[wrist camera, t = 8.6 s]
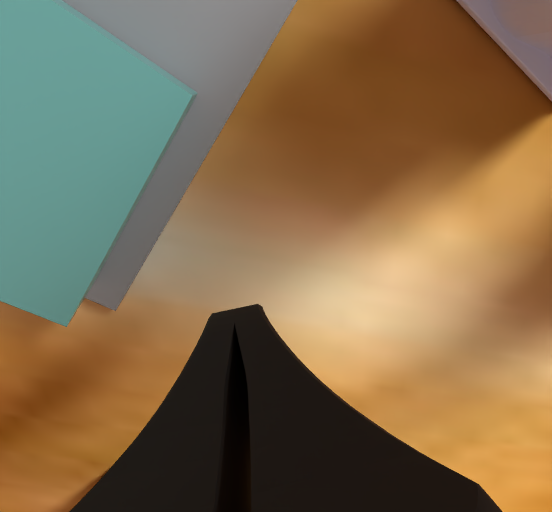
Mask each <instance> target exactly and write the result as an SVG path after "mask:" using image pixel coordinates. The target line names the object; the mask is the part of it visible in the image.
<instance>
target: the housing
mask: <svg viewBox="0 0 552 512" xmlns="http://www.w3.org/2000/svg"><path fill="white" fill-rule="evenodd" d="M197 94H198V93H197V92H196V91H194V90H193V89H191V88H190V87H188V86H187V85H185V84H184V83H182V82H181V81H179V80H178V79H176V78H175V77H174V76H172V75H171V74H169V73H168V72H166V71H165V70H163V69H162V68H160V67H159V66H157V65H156V64H155V63H153V62H152V61H150V60H149V59H147V58H146V57H144V56H143V55H141V54H140V53H138V52H137V51H135V50H134V49H133V48H131V47H130V46H128V45H127V44H125V43H124V42H122V41H121V40H119V39H118V38H116V37H115V36H114V35H112V34H111V33H109V32H108V31H106V30H105V29H103V28H102V27H100V26H99V25H97V24H96V23H94V22H93V21H92V20H90V19H89V18H87V17H86V16H84V15H83V14H81V13H80V12H78V11H77V10H75V9H74V8H73V7H71V6H70V5H68V4H67V3H65V2H64V1H62V0H0V301H2V302H4V303H7V304H9V305H12V306H14V307H17V308H20V309H22V310H25V311H27V312H30V313H32V314H35V315H38V316H40V317H43V318H45V319H48V320H50V321H53V322H55V323H58V324H61V325H63V326H66V327H67V325H68V324H69V322H70V321H71V319H72V317H73V316H74V314H75V313H76V311H77V309H78V308H79V306H80V305H81V303H82V301H83V300H84V298H85V297H86V295H87V293H88V292H89V290H90V289H91V287H92V285H93V284H94V282H95V280H96V278H97V276H98V275H99V273H100V271H101V269H102V267H103V266H104V264H105V262H106V260H107V258H108V256H109V255H110V253H111V251H112V249H113V247H114V245H115V244H116V242H117V240H118V238H119V236H120V235H121V233H122V231H123V229H124V227H125V225H126V224H127V222H128V220H129V218H130V216H131V214H132V213H133V211H134V209H135V207H136V205H137V203H138V202H139V200H140V198H141V196H142V194H143V193H144V191H145V189H146V187H147V185H148V183H149V182H150V180H151V178H152V176H153V174H154V172H155V171H156V169H157V167H158V165H159V163H160V162H161V160H162V158H163V156H164V154H165V152H166V151H167V149H168V147H169V145H170V143H171V141H172V140H173V138H174V136H175V134H176V132H177V130H178V129H179V127H180V125H181V123H182V121H183V120H184V118H185V116H186V114H187V112H188V110H189V109H190V107H191V105H192V103H193V101H194V99H195V98H196V96H197Z"/></svg>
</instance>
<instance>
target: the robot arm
mask: <svg viewBox="0 0 552 512" xmlns="http://www.w3.org/2000/svg"><path fill="white" fill-rule="evenodd" d="M456 1H457V2H458V3H459V4H460V5H461V6H462V7H463V8H464V9H465V10H466V11H467V12H468V13H469V14H470V16H471V17H472V18H473V19H474V20H475V21H476V22H477V23H478V24H479V25H480V26H481V27H482V28H483V29H484V30H485V31H486V32H487V33H488V35H489V36H490V37H491V38H492V39H493V40H494V41H495V42H496V43H497V44H498V45H499V46H500V47H501V48H502V49H503V50H504V51H505V53H506V54H507V55H508V56H509V57H510V58H511V59H512V60H513V61H514V62H515V63H516V64H517V65H518V66H519V67H520V68H521V69H522V71H523V72H524V73H525V74H526V75H527V76H528V77H529V78H530V79H531V80H532V81H533V82H534V83H535V84H536V85H537V86H538V87H539V89H540V90H541V91H542V92H543V93H544V94H545V95H546V96H547V97H548V98H549V99H550V100H551V101H552V0H456ZM70 512H502V511H501V509H500V508H499V507H498V506H497V505H496V503H495V502H494V501H493V500H492V499H491V498H490V496H489V495H488V494H487V493H486V492H485V491H484V490H483V488H482V487H481V486H480V485H479V484H477V483H476V482H474V481H472V480H470V479H468V478H466V477H464V476H462V475H461V474H459V473H457V472H455V471H453V470H451V469H449V468H447V467H445V466H444V465H442V464H440V463H438V462H436V461H434V460H433V459H431V458H429V457H427V456H426V455H424V454H422V453H420V452H419V451H417V450H415V449H414V448H412V447H411V446H409V445H407V444H406V443H404V442H402V441H401V440H399V439H398V438H396V437H394V436H393V435H391V434H390V433H388V432H387V431H385V430H384V429H382V428H381V427H380V426H378V425H377V424H375V423H374V422H372V421H371V420H370V419H368V418H367V417H365V416H364V415H362V414H361V413H360V412H358V411H357V410H355V409H354V408H353V407H351V406H350V405H349V404H348V403H346V402H345V401H344V400H343V399H341V398H340V397H339V396H338V395H336V394H335V393H334V392H333V391H332V390H331V389H329V388H328V387H327V386H326V385H325V384H324V383H323V382H321V381H320V380H319V379H318V378H317V377H316V376H315V375H314V374H313V373H312V372H311V371H310V370H309V369H308V368H307V367H306V366H305V365H304V364H303V363H302V362H301V361H300V360H299V359H298V358H297V356H296V355H295V354H294V353H293V352H292V351H291V350H290V348H289V347H288V346H287V345H286V343H285V342H284V341H283V340H282V339H281V337H280V336H279V335H278V333H277V332H276V331H275V329H274V328H273V326H272V325H271V323H270V322H269V320H268V318H267V316H266V315H265V312H264V310H263V307H262V306H260V305H259V304H255V305H250V306H246V307H241V308H236V309H231V310H226V311H222V312H217V313H212V315H211V316H210V317H209V319H208V321H207V324H206V326H205V328H204V330H203V333H202V335H201V337H200V339H199V341H198V343H197V345H196V347H195V349H194V350H193V352H192V354H191V356H190V358H189V360H188V361H187V363H186V365H185V367H184V369H183V370H182V372H181V374H180V375H179V377H178V379H177V380H176V382H175V383H174V385H173V387H172V388H171V390H170V391H169V393H168V395H167V396H166V398H165V399H164V401H163V402H162V404H161V405H160V407H159V408H158V410H157V411H156V412H155V414H154V415H153V417H152V418H151V419H150V421H149V422H148V423H147V425H146V426H145V427H144V429H143V430H142V431H141V433H140V434H139V435H138V436H137V438H136V439H135V440H134V441H133V443H132V444H131V445H130V446H129V447H128V449H127V450H126V451H125V452H124V453H123V454H122V455H121V457H120V458H119V459H118V460H117V461H116V462H115V464H114V465H113V466H112V467H111V468H110V469H109V470H108V472H107V473H106V474H105V475H104V476H103V477H102V478H101V480H100V481H99V482H98V483H97V484H96V485H95V486H94V487H93V488H92V489H91V490H90V491H89V492H88V493H87V494H86V495H85V496H84V497H83V498H82V499H81V501H80V502H79V503H78V504H77V505H76V506H75V507H74V508H73V509H72V510H71V511H70Z"/></svg>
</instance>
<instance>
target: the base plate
mask: <svg viewBox="0 0 552 512" xmlns="http://www.w3.org/2000/svg"><path fill="white" fill-rule="evenodd" d="M62 1H64V2H65V3H67V4H68V5H70V6H71V7H73V8H74V9H75V10H77V11H78V12H80V13H81V14H83V15H84V16H86V17H87V18H89V19H90V20H92V21H93V22H94V23H96V24H97V25H99V26H100V27H102V28H103V29H105V30H106V31H108V32H109V33H111V34H112V35H114V36H115V37H116V38H118V39H119V40H121V41H122V42H124V43H125V44H127V45H128V46H130V47H131V48H133V49H134V50H135V51H137V52H138V53H140V54H141V55H143V56H144V57H146V58H147V59H149V60H150V61H152V62H153V63H155V64H156V65H157V66H159V67H160V68H162V69H163V70H165V71H166V72H168V73H169V74H171V75H172V76H174V77H175V78H176V79H178V80H179V81H181V82H182V83H184V84H185V85H187V86H188V87H190V88H191V89H193V90H194V91H196V92H197V93H198V94H197V96H196V98H195V99H194V101H193V103H192V105H191V107H190V109H189V110H188V112H187V114H186V116H185V118H184V120H183V121H182V123H181V125H180V127H179V129H178V130H177V132H176V134H175V136H174V138H173V140H172V141H171V143H170V145H169V147H168V149H167V151H166V152H165V154H164V156H163V158H162V160H161V162H160V163H159V165H158V167H157V169H156V171H155V172H154V174H153V176H152V178H151V180H150V182H149V183H148V185H147V187H146V189H145V191H144V193H143V194H142V196H141V198H140V200H139V202H138V203H137V205H136V207H135V209H134V211H133V213H132V214H131V216H130V218H129V220H128V222H127V224H126V225H125V227H124V229H123V231H122V233H121V235H120V236H119V238H118V240H117V242H116V244H115V245H114V247H113V249H112V251H111V253H110V255H109V256H108V258H107V260H106V262H105V264H104V266H103V267H102V269H101V271H100V273H99V275H98V276H97V278H96V280H95V282H94V284H93V285H92V287H91V289H90V290H89V292H88V293H87V295H86V297H85V298H86V299H88V300H91V301H93V302H96V303H98V304H100V305H103V306H105V307H107V308H110V309H112V310H114V311H116V309H117V308H118V306H119V304H120V303H121V301H122V299H123V297H124V296H125V294H126V292H127V291H128V289H129V287H130V285H131V284H132V282H133V280H134V279H135V277H136V275H137V273H138V272H139V270H140V268H141V267H142V265H143V263H144V262H145V260H146V258H147V256H148V255H149V253H150V251H151V250H152V248H153V246H154V244H155V243H156V241H157V239H158V238H159V236H160V234H161V232H162V231H163V229H164V227H165V226H166V224H167V222H168V221H169V219H170V217H171V215H172V214H173V212H174V210H175V209H176V207H177V205H178V203H179V202H180V200H181V198H182V197H183V195H184V193H185V191H186V190H187V188H188V186H189V185H190V183H191V181H192V180H193V178H194V176H195V174H196V173H197V171H198V169H199V168H200V166H201V164H202V162H203V161H204V159H205V157H206V156H207V154H208V152H209V150H210V149H211V147H212V145H213V144H214V142H215V140H216V139H217V137H218V135H219V133H220V132H221V130H222V128H223V127H224V125H225V123H226V121H227V120H228V118H229V116H230V115H231V113H232V111H233V109H234V108H235V106H236V104H237V103H238V101H239V99H240V98H241V96H242V94H243V92H244V91H245V89H246V87H247V86H248V84H249V82H250V80H251V79H252V77H253V75H254V74H255V72H256V70H257V68H258V67H259V65H260V63H261V62H262V60H263V58H264V57H265V55H266V53H267V51H268V50H269V48H270V46H271V45H272V43H273V41H274V39H275V38H276V36H277V34H278V33H279V31H280V29H281V27H282V26H283V24H284V22H285V21H286V19H287V17H288V15H289V14H290V12H291V10H292V9H293V7H294V5H295V4H296V2H297V0H62Z"/></svg>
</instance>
